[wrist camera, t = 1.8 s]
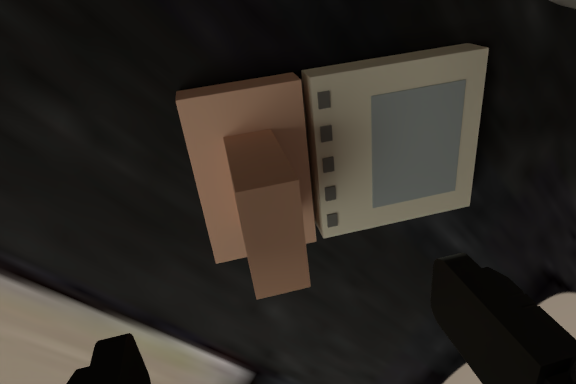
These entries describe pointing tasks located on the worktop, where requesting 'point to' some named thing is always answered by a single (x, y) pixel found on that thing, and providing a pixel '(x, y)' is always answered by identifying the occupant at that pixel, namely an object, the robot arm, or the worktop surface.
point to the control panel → (393, 136)
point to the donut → (565, 3)
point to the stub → (253, 175)
